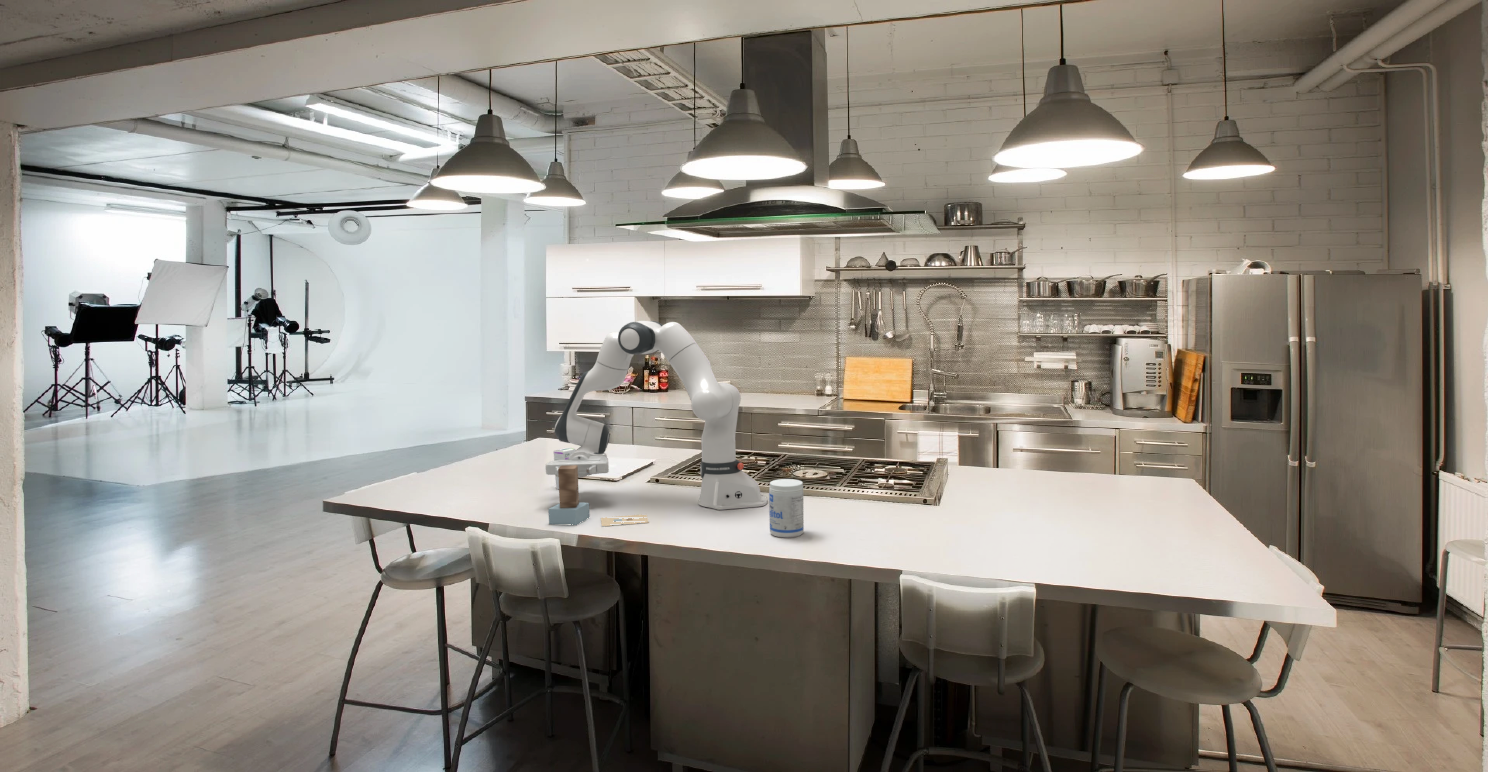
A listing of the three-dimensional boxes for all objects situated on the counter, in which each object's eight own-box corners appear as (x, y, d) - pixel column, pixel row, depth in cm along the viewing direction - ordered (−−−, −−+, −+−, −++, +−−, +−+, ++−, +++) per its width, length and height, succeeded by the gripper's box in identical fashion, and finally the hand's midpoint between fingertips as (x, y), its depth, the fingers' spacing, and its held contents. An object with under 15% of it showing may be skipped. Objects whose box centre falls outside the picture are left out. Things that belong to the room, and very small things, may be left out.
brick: (589, 518, 247) (588, 502, 247) (576, 526, 239) (575, 510, 238) (563, 517, 250) (562, 501, 249) (549, 525, 241) (548, 508, 241)
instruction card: (646, 514, 249) (646, 513, 249) (648, 522, 239) (648, 522, 239) (600, 518, 246) (600, 517, 246) (601, 526, 236) (601, 525, 236)
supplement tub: (762, 534, 223) (761, 483, 222) (783, 527, 230) (782, 477, 229) (790, 540, 217) (789, 487, 216) (811, 532, 224) (809, 481, 223)
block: (579, 503, 246) (577, 465, 245) (576, 507, 241) (575, 468, 240) (562, 503, 246) (561, 465, 245) (559, 508, 241) (558, 469, 240)
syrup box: (566, 490, 286) (564, 450, 284) (555, 488, 289) (553, 449, 288) (578, 487, 290) (576, 448, 289) (567, 485, 294) (565, 447, 292)
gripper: (549, 455, 266) (540, 463, 252) (611, 453, 267) (605, 461, 253) (550, 473, 267) (541, 482, 253) (611, 471, 267) (605, 480, 254)
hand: (573, 471), depth 253 cm, fingers open, 8 cm apart
